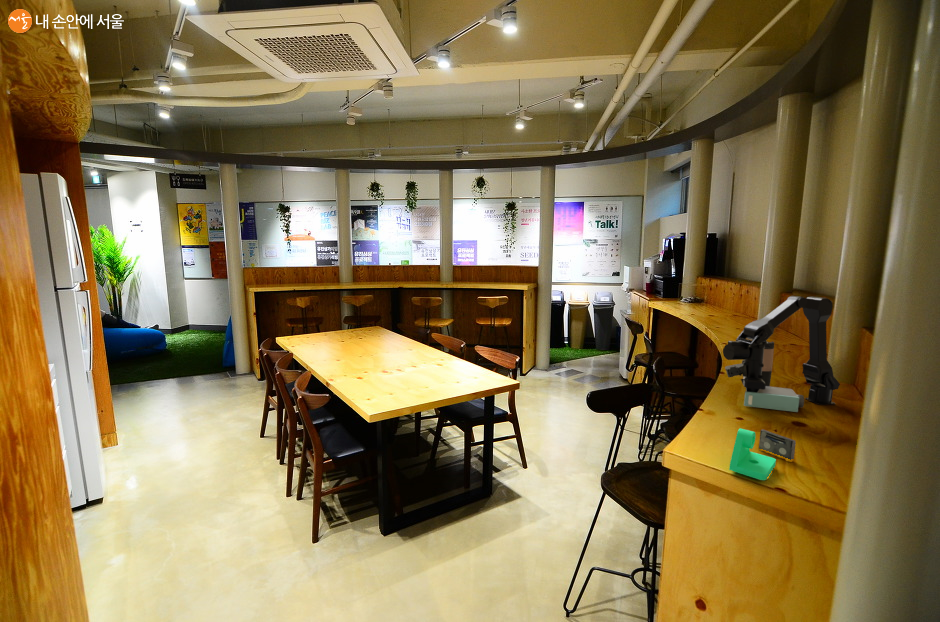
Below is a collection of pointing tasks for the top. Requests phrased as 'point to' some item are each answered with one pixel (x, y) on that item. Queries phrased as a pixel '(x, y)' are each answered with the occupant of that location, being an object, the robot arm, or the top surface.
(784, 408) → the side door
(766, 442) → the mini dv tape
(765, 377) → the travel mug
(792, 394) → the block
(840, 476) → the top surface
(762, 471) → the camera mount
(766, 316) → the robot arm
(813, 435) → the top surface
